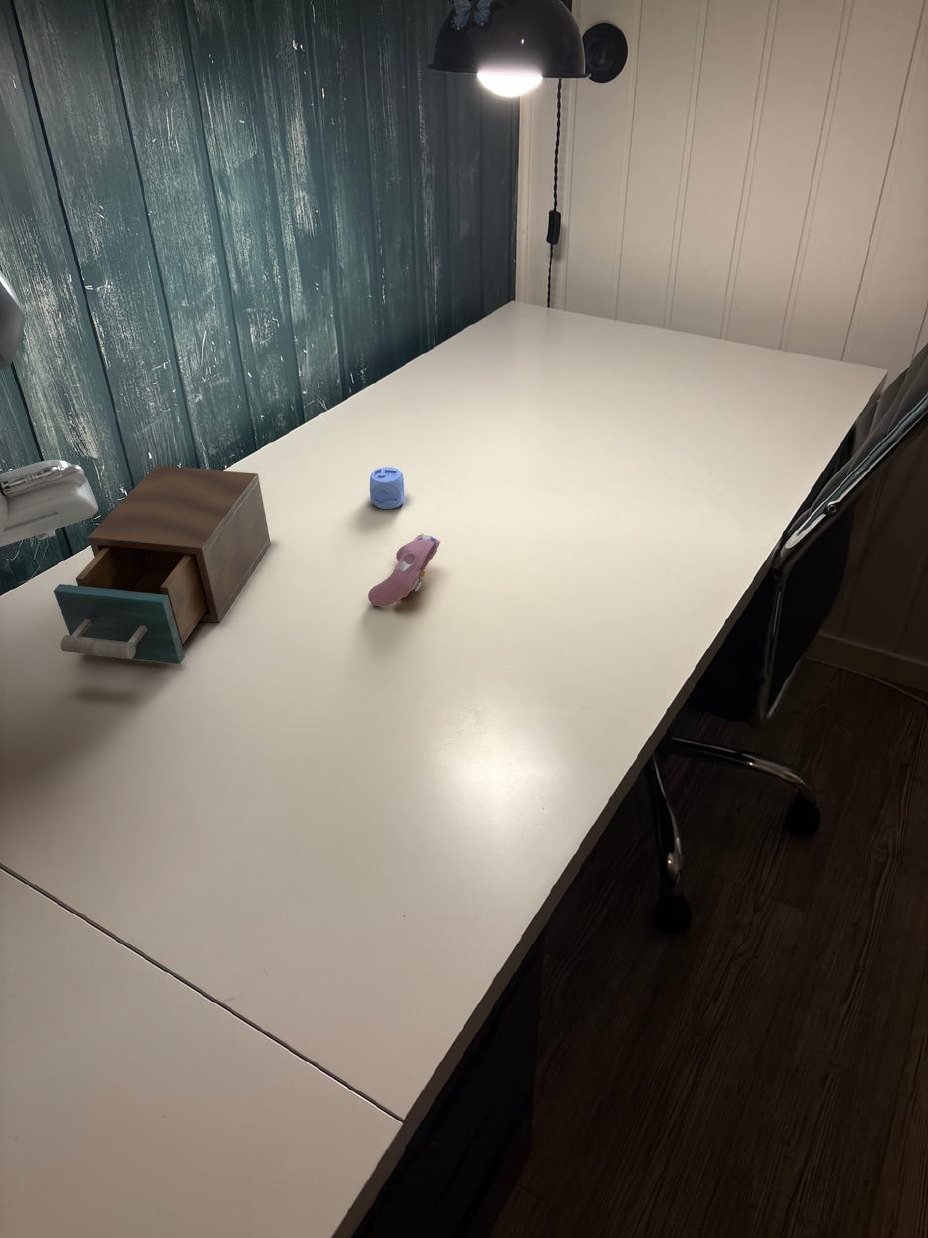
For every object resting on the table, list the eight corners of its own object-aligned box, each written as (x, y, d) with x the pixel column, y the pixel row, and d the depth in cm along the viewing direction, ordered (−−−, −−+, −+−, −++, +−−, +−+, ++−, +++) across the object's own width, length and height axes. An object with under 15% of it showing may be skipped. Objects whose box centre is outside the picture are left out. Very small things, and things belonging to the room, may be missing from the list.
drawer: (160, 693, 89) (141, 630, 85) (52, 680, 91) (28, 617, 86) (235, 581, 104) (222, 522, 99) (141, 572, 106) (124, 513, 101)
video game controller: (398, 624, 101) (421, 582, 97) (362, 602, 101) (384, 560, 96) (429, 574, 109) (452, 534, 104) (396, 554, 108) (418, 513, 104)
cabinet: (219, 623, 100) (201, 547, 94) (111, 611, 102) (87, 537, 96) (271, 544, 112) (258, 473, 106) (173, 535, 114) (155, 465, 108)
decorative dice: (402, 509, 118) (400, 481, 115) (371, 509, 118) (368, 482, 115) (404, 493, 121) (402, 466, 118) (374, 493, 121) (371, 466, 118)
